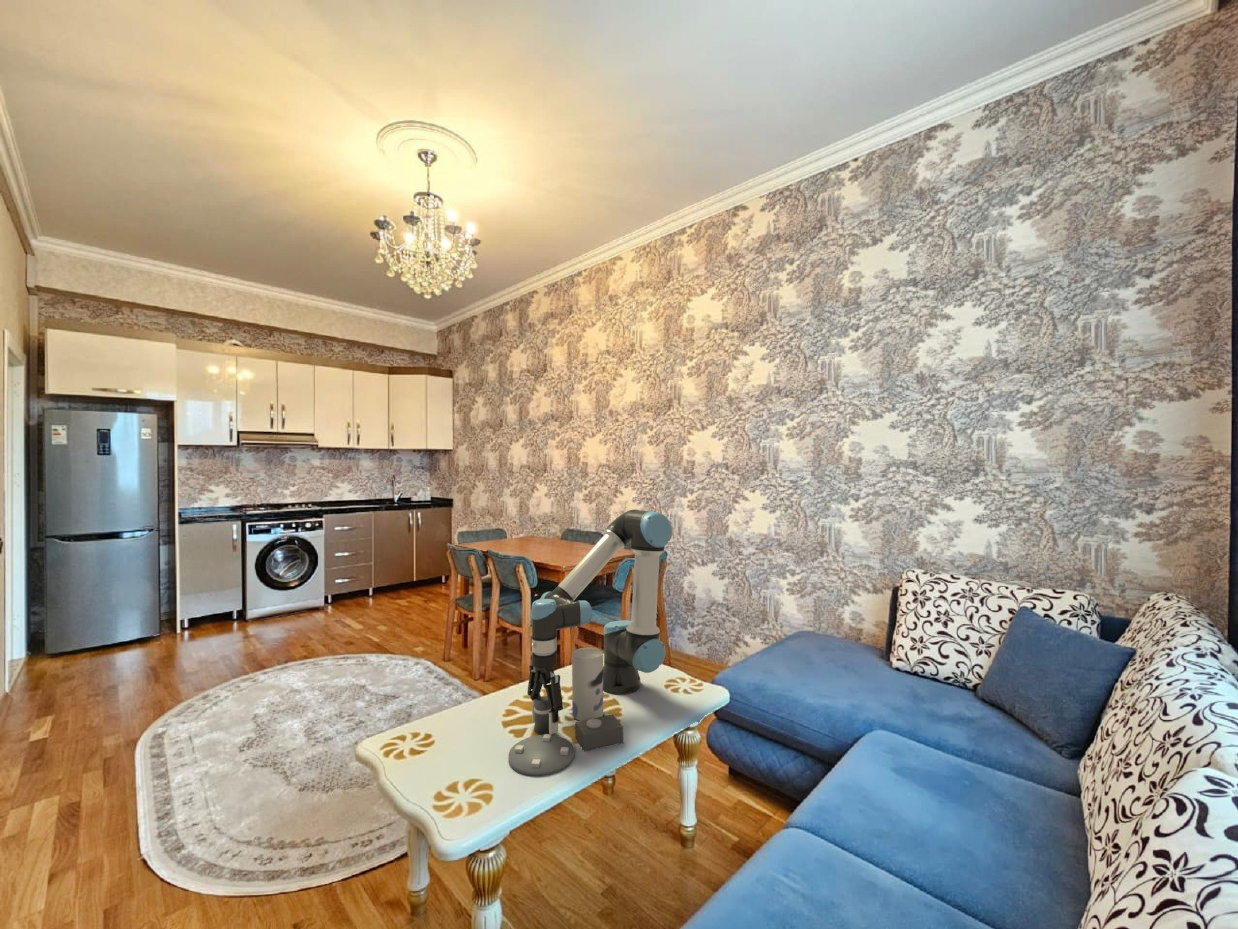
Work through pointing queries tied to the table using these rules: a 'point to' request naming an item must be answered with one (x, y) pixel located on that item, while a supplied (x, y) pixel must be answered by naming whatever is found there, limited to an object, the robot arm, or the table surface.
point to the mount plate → (541, 755)
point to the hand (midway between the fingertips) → (544, 726)
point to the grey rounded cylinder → (541, 715)
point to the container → (587, 683)
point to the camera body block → (598, 732)
